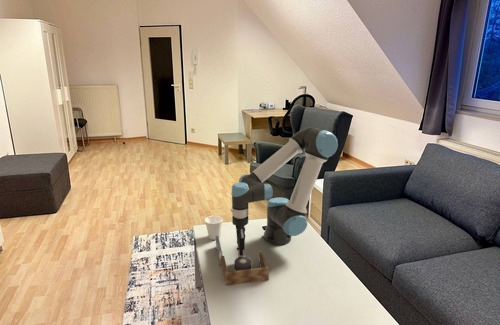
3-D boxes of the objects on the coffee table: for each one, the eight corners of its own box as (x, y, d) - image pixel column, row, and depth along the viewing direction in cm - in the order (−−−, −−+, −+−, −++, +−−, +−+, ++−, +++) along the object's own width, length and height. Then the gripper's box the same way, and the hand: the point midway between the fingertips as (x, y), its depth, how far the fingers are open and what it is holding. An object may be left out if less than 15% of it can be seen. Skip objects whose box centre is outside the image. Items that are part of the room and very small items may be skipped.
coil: (249, 262, 169) (249, 255, 168) (253, 271, 161) (252, 264, 160) (233, 264, 167) (233, 257, 166) (236, 273, 160) (235, 267, 159)
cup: (224, 233, 196) (224, 215, 193) (221, 242, 187) (221, 224, 184) (207, 232, 197) (206, 215, 194) (203, 241, 188) (202, 223, 184)
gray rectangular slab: (215, 246, 182) (215, 234, 180) (218, 245, 183) (218, 234, 181) (219, 266, 165) (219, 253, 163) (223, 265, 165) (222, 252, 163)
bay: (261, 262, 168) (261, 251, 167) (268, 279, 155) (268, 268, 153) (221, 266, 165) (221, 255, 163) (225, 285, 152) (225, 273, 150)
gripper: (230, 210, 167) (231, 253, 174) (234, 222, 154) (235, 268, 161) (245, 209, 168) (246, 251, 175) (250, 221, 156) (250, 266, 163)
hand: (240, 259), depth 168 cm, fingers closed
